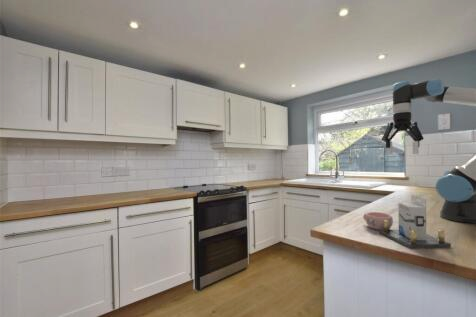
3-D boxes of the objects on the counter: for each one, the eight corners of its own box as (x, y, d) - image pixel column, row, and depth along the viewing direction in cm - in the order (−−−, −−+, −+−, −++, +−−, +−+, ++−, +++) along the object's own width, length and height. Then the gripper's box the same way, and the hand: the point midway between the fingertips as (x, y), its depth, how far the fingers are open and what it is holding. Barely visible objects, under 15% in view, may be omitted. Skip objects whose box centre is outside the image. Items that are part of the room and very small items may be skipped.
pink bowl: (398, 230, 91) (398, 216, 91) (382, 233, 87) (382, 219, 87) (371, 222, 102) (370, 210, 102) (356, 225, 98) (355, 212, 98)
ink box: (398, 232, 85) (397, 194, 85) (412, 232, 84) (411, 194, 84) (411, 240, 77) (410, 198, 77) (427, 240, 76) (426, 198, 76)
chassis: (413, 232, 88) (413, 219, 88) (450, 247, 73) (450, 231, 73) (379, 233, 88) (379, 220, 88) (410, 248, 73) (409, 232, 73)
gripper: (419, 114, 117) (420, 153, 117) (373, 114, 116) (374, 154, 116) (432, 111, 109) (432, 153, 109) (383, 111, 109) (384, 154, 109)
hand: (402, 154), depth 113 cm, fingers open, 13 cm apart
